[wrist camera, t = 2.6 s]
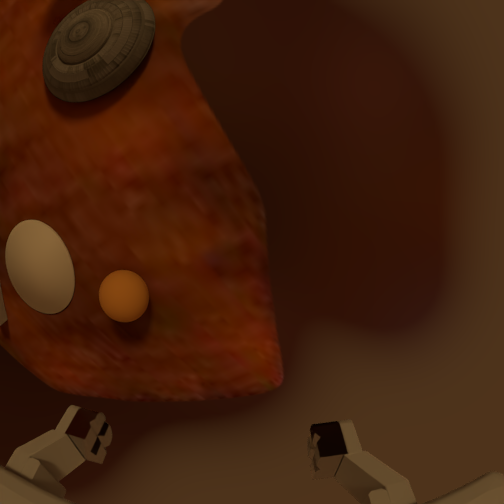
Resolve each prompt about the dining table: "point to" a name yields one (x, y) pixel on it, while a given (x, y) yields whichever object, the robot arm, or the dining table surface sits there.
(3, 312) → the bar
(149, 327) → the dining table surface
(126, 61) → the flying saucer
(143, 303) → the ball
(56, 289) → the disc
